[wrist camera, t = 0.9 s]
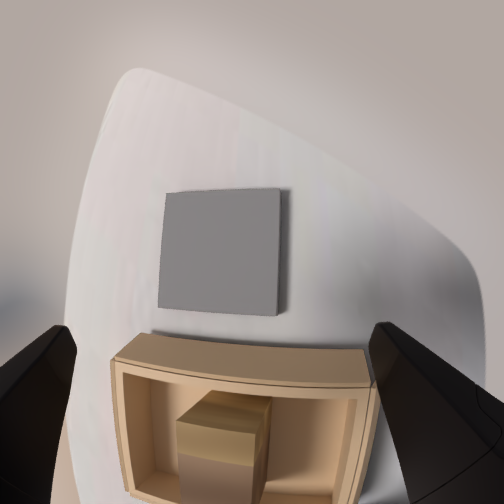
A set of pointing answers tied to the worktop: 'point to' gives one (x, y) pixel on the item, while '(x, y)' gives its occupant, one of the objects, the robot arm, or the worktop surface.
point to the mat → (221, 252)
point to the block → (224, 448)
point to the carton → (255, 383)
